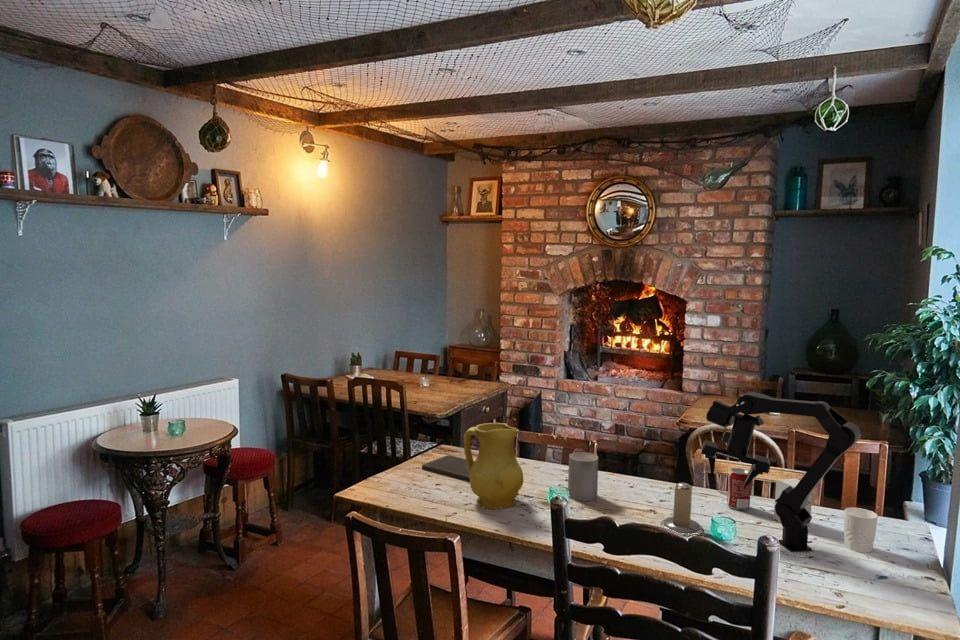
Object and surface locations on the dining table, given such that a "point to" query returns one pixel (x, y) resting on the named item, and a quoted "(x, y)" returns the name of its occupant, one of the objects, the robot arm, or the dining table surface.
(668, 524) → the plate
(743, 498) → the soda can
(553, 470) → the dining table surface
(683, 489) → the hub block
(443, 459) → the hardcover book
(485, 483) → the pitcher
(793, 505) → the robot arm
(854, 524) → the white cup
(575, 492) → the pillar candle
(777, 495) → the supplement box
